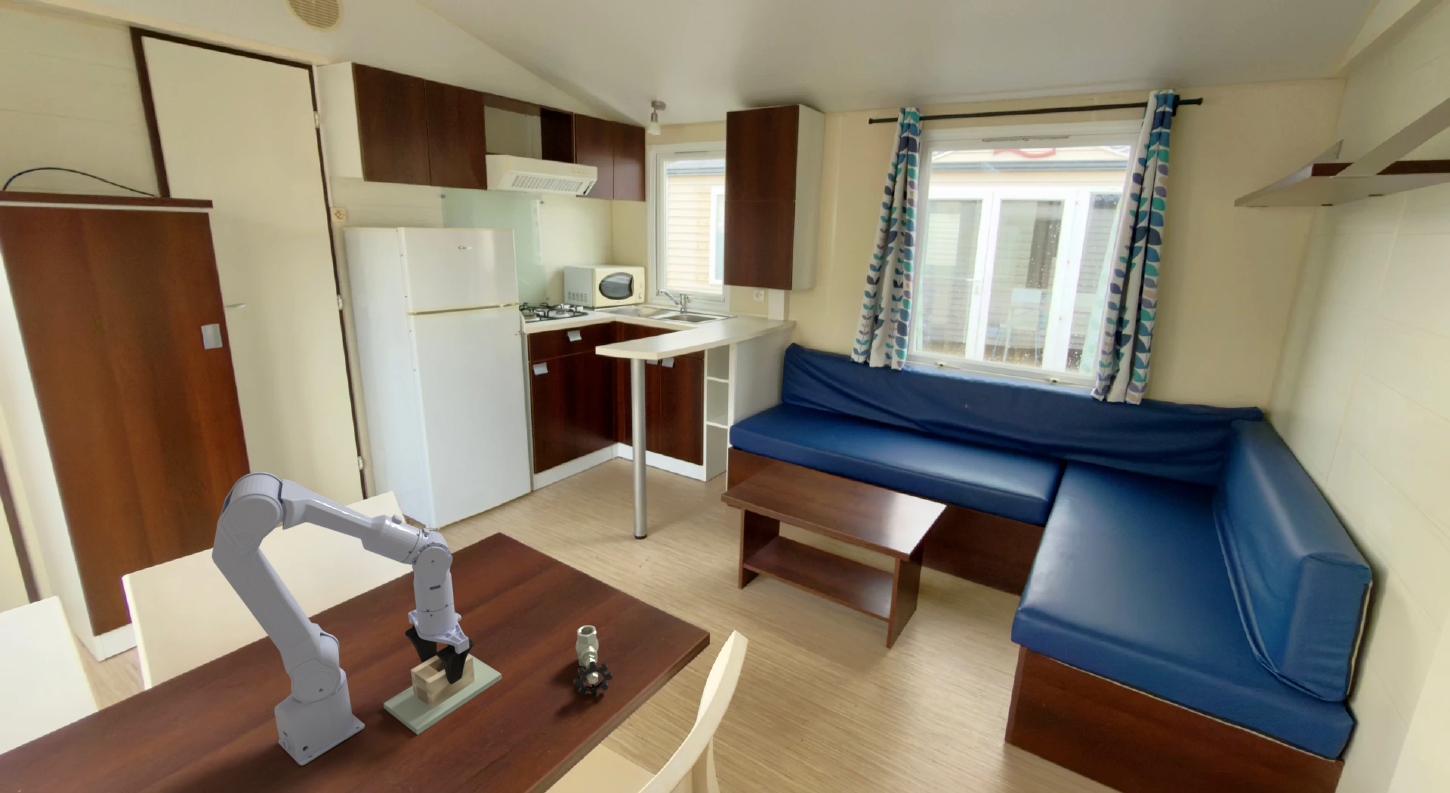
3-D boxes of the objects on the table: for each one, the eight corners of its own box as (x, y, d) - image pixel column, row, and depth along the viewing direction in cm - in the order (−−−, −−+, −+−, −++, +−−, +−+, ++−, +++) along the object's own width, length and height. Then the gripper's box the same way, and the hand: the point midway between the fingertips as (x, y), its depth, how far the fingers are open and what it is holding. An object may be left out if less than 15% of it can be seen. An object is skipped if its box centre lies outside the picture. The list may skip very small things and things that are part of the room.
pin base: (417, 734, 101) (414, 713, 100) (384, 708, 106) (381, 688, 105) (501, 678, 114) (500, 659, 113) (468, 657, 119) (466, 639, 118)
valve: (568, 657, 120) (574, 700, 109) (567, 627, 118) (573, 668, 107) (603, 650, 122) (613, 693, 111) (602, 621, 120) (612, 661, 109)
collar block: (432, 708, 105) (429, 683, 104) (413, 694, 108) (410, 669, 107) (474, 681, 111) (472, 657, 110) (455, 669, 114) (453, 645, 113)
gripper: (482, 605, 105) (488, 675, 108) (432, 578, 112) (439, 643, 116) (443, 626, 99) (451, 699, 102) (393, 596, 107) (401, 664, 110)
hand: (442, 671), depth 109 cm, fingers open, 7 cm apart
